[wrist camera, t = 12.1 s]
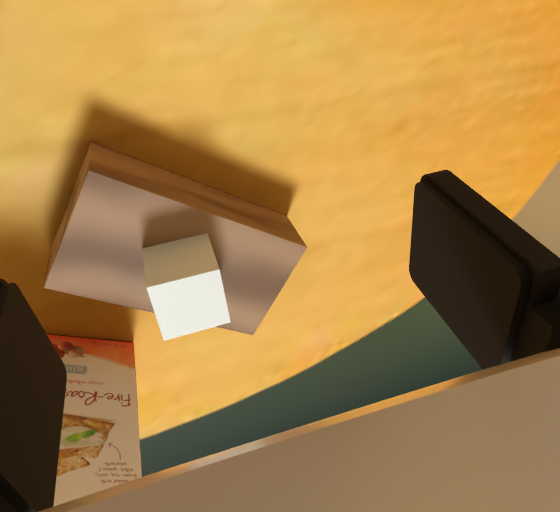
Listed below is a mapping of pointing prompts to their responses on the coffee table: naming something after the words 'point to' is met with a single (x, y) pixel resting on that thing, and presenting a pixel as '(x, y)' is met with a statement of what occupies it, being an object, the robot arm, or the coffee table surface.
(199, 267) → the white cube
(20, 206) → the coffee table surface
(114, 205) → the walnut block
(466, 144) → the coffee table surface
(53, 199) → the coffee table surface
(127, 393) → the cracker box
